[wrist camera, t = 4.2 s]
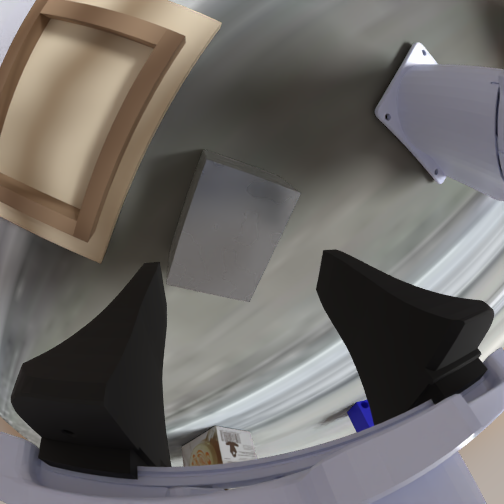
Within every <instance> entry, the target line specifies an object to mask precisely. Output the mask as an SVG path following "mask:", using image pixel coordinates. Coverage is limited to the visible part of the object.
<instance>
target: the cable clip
mask: <svg viewBox="0 0 504 504" xmlns="http://www.w3.org/2000/svg"><path fill="white" fill-rule="evenodd" d="M347 413H348V415H349V417H350V420H351V422H352V424H353V426H354V428H355V430H356V432H360V431H362V430H365V429H367V428H370V427H373V426H374V423H373V419H372V415H371V411H370V407H369V403H368V400H365V401H360V402H356V403H355V404H354V406H353V407H352V408H351V409H350V410H349V411H348V412H347Z"/></svg>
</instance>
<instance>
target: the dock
mask: <svg viewBox="0 0 504 504" xmlns="http://www.w3.org/2000/svg"><path fill="white" fill-rule="evenodd" d="M221 24H222V23H221V22H219V21H217V20H215V19H212V18H210V17H208V16H206V15H203V14H201V13H199V12H196V11H194V10H192V9H189V8H187V7H184V6H181V5H179V4H176V3H173V2H171V1H168V0H36V2H35V3H34V5H33V6H32V8H31V9H30V11H29V13H28V14H27V16H26V18H25V19H24V21H23V23H22V25H21V26H20V28H19V30H18V32H17V34H16V36H15V37H14V39H13V41H12V43H11V45H10V47H9V49H8V52H7V54H6V56H5V58H4V60H3V63H2V65H1V67H0V217H2V218H4V219H6V220H8V221H10V222H12V223H14V224H16V225H18V226H20V227H22V228H24V229H26V230H28V231H30V232H32V233H34V234H36V235H38V236H40V237H42V238H44V239H46V240H49V241H51V242H53V243H55V244H57V245H59V246H61V247H64V248H66V249H68V250H70V251H73V252H75V253H77V254H79V255H82V256H84V257H86V258H89V259H91V260H93V261H96V262H98V263H100V264H101V262H102V260H103V258H104V256H105V254H106V250H107V247H108V244H109V241H110V238H111V235H112V233H113V230H114V227H115V224H116V221H117V219H118V216H119V213H120V211H121V208H122V206H123V203H124V201H125V198H126V196H127V193H128V191H129V188H130V186H131V184H132V181H133V179H134V177H135V174H136V172H137V170H138V168H139V165H140V163H141V161H142V159H143V157H144V155H145V152H146V150H147V148H148V146H149V144H150V142H151V140H152V138H153V136H154V134H155V132H156V130H157V128H158V126H159V125H160V123H161V121H162V119H163V117H164V115H165V113H166V112H167V110H168V108H169V106H170V104H171V103H172V101H173V99H174V97H175V96H176V94H177V92H178V91H179V89H180V87H181V86H182V84H183V82H184V81H185V79H186V77H187V76H188V74H189V73H190V71H191V70H192V68H193V66H194V65H195V63H196V62H197V60H198V59H199V57H200V56H201V54H202V53H203V51H204V50H205V49H206V47H207V46H208V44H209V43H210V41H211V40H212V39H213V37H214V36H215V35H216V33H217V32H218V30H219V29H220V27H221Z"/></svg>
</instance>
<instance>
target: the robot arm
mask: <svg viewBox="0 0 504 504" xmlns="http://www.w3.org/2000/svg"><path fill="white" fill-rule="evenodd" d="M422 52H423V54H422ZM386 114H387V119H385V115H386ZM375 115H376V117H377V118H378V119H379V120H380V121H381V122H382V123H383V124H384V125H385V126H386V127H387V128H388V129H389V130H390V131H391V132H392V133H393V134H394V135H395V136H396V137H397V138H398V139H399V140H400V141H401V142H402V143H403V144H404V145H405V146H406V147H407V148H408V150H409V151H410V152H411V153H412V154H413V155H414V156H415V157H416V158H417V160H418V161H419V162H420V163H421V164H422V165H423V167H424V168H425V169H426V170H427V171H428V173H429V174H430V175H431V176H432V177H433V179H434V180H435V181H436V182H437V183H439V184H441V183H443V181H444V180H445V178H446V176H448V177H450V178H452V179H454V180H456V181H459V182H461V183H463V184H465V185H467V186H469V187H471V188H473V189H475V190H478V191H480V192H481V193H483V194H485V195H487V196H489V197H491V198H493V199H496V200H499V201H504V69H499V68H491V67H482V66H469V65H449V64H437V62H436V61H435V60H434V59H433V57H432V56H431V55H430V54H429V52H428V51H427V50H426V49H425V48H424V46H423V45H422V44H421V43H419V42H416V43H413V45H412V47H411V48H410V50H409V52H408V54H407V55H406V57H405V59H404V61H403V62H402V64H401V66H400V68H399V69H398V71H397V73H396V74H395V76H394V78H393V80H392V81H391V83H390V85H389V86H388V88H387V90H386V91H385V93H384V95H383V97H382V98H381V100H380V102H379V103H378V105H377V107H376V108H375ZM434 172H435V173H434ZM316 291H317V293H318V296H319V298H320V301H321V303H322V305H323V308H324V310H325V311H326V313H327V315H328V316H329V318H330V320H331V322H332V323H333V325H334V326H335V328H336V330H337V331H338V333H339V335H340V336H341V338H342V340H343V342H344V343H345V345H346V347H347V349H348V351H349V352H350V355H351V357H352V359H353V362H354V364H355V366H356V369H357V371H358V374H359V376H360V379H361V382H362V385H363V387H364V390H365V394H366V397H367V400H368V403H369V407H370V411H371V415H372V419H373V423H374V426H373V427H370V428H367V429H365V430H362V431H360V432H357V433H354V434H351V435H348V436H346V437H343V438H340V439H336V440H333V441H330V442H327V443H324V444H320V445H317V446H313V447H309V448H306V449H302V450H298V451H294V452H289V453H285V454H280V455H276V456H271V457H265V458H260V459H254V460H248V461H241V462H233V463H225V464H215V465H203V466H185V467H171V461H170V455H169V449H168V442H167V435H166V426H165V416H164V404H163V387H162V370H163V359H164V348H165V338H166V328H167V303H166V297H165V292H164V286H163V280H162V274H161V267H160V262H154V263H144V265H143V266H142V267H141V268H140V269H139V270H138V272H137V273H136V274H135V275H134V277H133V278H132V279H131V280H130V282H129V283H128V284H127V285H126V286H125V288H124V289H123V290H122V291H121V292H120V293H119V295H118V296H117V297H116V298H115V299H114V300H113V301H112V302H111V303H110V304H109V305H108V306H107V307H106V308H105V309H104V310H103V311H102V312H101V313H100V314H99V315H98V316H97V317H95V318H94V319H93V320H92V321H91V322H90V323H88V324H87V325H86V326H85V327H83V328H82V329H81V330H79V331H78V332H77V333H75V334H74V335H73V336H71V337H70V338H68V339H67V340H65V341H64V342H62V343H61V344H59V345H57V346H56V347H54V348H52V349H51V350H49V351H47V352H45V353H43V354H41V355H39V356H37V357H35V358H33V359H31V360H29V361H27V362H25V363H23V365H22V367H21V369H20V372H19V375H18V377H17V380H16V383H15V386H14V389H13V392H12V395H11V403H12V405H13V407H14V409H15V411H16V412H17V414H18V415H19V416H20V417H21V418H22V419H23V420H24V421H25V422H26V423H27V424H28V425H29V426H30V427H31V428H32V429H33V430H34V431H35V432H37V433H38V434H39V435H40V436H41V437H42V438H41V443H40V449H39V448H38V447H37V446H35V445H34V444H33V443H31V442H29V441H27V440H25V439H23V438H20V437H17V436H13V435H10V434H7V433H4V432H0V500H1V501H3V502H5V503H7V504H487V503H486V501H485V499H484V497H483V495H482V494H481V492H480V490H479V488H478V486H477V484H476V482H475V480H474V479H473V477H472V475H471V473H470V471H469V470H468V468H467V466H466V464H465V462H464V461H463V459H462V457H461V456H460V454H459V452H458V450H460V449H461V448H462V447H464V446H465V445H466V444H468V443H469V442H470V441H471V440H472V439H473V438H475V437H476V436H477V435H478V434H479V433H481V432H482V431H483V430H484V429H485V428H486V427H487V426H488V425H490V424H491V423H492V422H493V421H494V420H495V419H496V418H497V417H498V416H499V415H500V414H501V413H502V412H503V411H504V350H503V348H502V347H501V348H499V349H497V350H496V351H495V352H493V353H492V354H490V355H489V356H488V357H487V358H486V360H485V361H484V362H483V363H482V362H481V360H480V359H479V358H478V357H480V355H481V352H480V351H479V349H478V346H479V344H480V343H481V341H482V340H483V338H484V336H485V335H486V333H487V332H488V330H489V328H490V326H491V324H492V321H493V318H494V311H493V309H492V308H491V307H490V306H489V305H488V304H486V303H485V302H483V301H480V300H472V299H464V298H458V297H453V296H448V295H443V294H439V293H436V292H432V291H429V290H425V289H422V288H419V287H416V286H414V285H411V284H409V283H406V282H403V281H401V280H399V279H396V278H394V277H392V276H390V275H388V274H386V273H384V272H382V271H380V270H377V269H376V268H374V267H372V266H370V265H368V264H366V263H364V262H362V261H360V260H358V259H356V258H354V257H352V256H350V255H348V254H346V253H344V252H341V251H339V250H323V255H322V261H321V266H320V272H319V277H318V282H317V288H316ZM245 486H246V487H245ZM238 487H241V488H238ZM230 488H236V489H231V490H224V489H230Z"/></svg>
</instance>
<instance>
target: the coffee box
mask: <svg viewBox="0 0 504 504" xmlns="http://www.w3.org/2000/svg"><path fill="white" fill-rule="evenodd" d="M182 456H183V465H184V467H185V466H203V465H215V464H225V463H233V462H241V461H248V460H254V459H258V458H257V454H256V450H255V447H254V443H253V439H252V436H251V432H249V431H243V430H236V429H230V428H225V427H220V426H214V427H212V428H211V429H209V430H208V431H206V432H205V433H203V434H202V435H200V436H199V437H197V438H195V439H194V440H192V441H190V442H189V443H187V444H185V445H184V446H182ZM245 487H246V486H245ZM238 488H241V487H238ZM231 489H236V488H230V489H224V490H231Z"/></svg>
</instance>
